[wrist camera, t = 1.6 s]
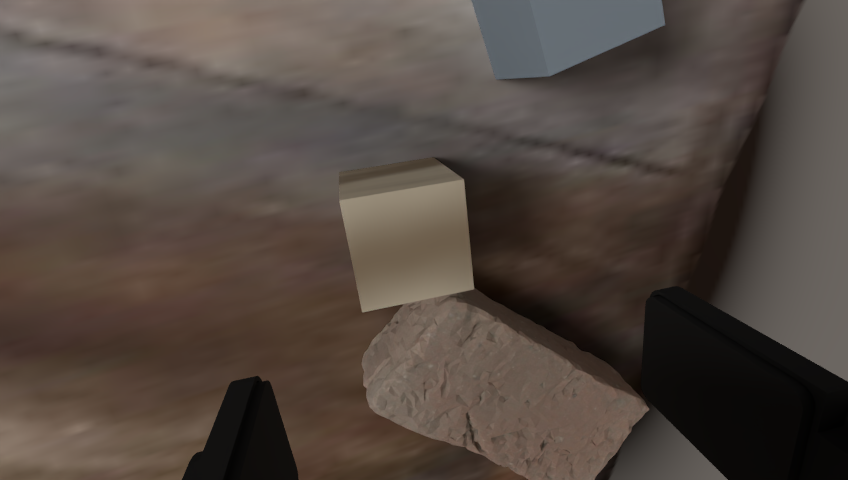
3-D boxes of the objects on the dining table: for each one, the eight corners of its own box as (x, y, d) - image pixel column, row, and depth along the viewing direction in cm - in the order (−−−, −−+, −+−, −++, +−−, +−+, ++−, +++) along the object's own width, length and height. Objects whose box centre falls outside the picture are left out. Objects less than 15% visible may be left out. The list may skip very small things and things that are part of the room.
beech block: (339, 172, 22) (339, 200, 16) (433, 157, 22) (463, 179, 17) (356, 259, 24) (362, 312, 18) (443, 243, 24) (474, 289, 19)
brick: (354, 365, 26) (358, 421, 22) (430, 257, 25) (450, 293, 20) (543, 447, 32) (576, 504, 28) (614, 363, 30) (661, 410, 26)
